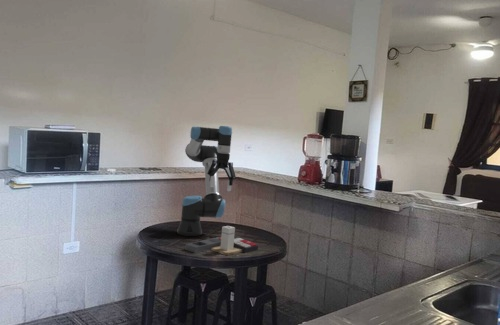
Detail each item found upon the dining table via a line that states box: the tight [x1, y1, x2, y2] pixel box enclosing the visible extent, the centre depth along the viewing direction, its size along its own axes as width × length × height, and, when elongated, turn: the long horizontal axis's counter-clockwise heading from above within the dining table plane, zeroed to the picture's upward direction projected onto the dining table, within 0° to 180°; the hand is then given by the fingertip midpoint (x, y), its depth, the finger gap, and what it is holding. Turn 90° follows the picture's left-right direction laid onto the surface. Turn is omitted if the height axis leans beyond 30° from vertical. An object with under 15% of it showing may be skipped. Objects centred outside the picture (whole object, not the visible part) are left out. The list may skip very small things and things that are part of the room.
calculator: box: [233, 237, 259, 254], centre depth 233 cm, size 11×4×15 cm
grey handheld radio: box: [184, 236, 221, 254], centre depth 230 cm, size 32×8×4 cm, turn 142°
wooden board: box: [211, 246, 243, 256], centre depth 225 cm, size 12×12×1 cm
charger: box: [220, 225, 236, 251], centre depth 224 cm, size 5×5×12 cm
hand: (220, 189), depth 240 cm, fingers open, 13 cm apart
